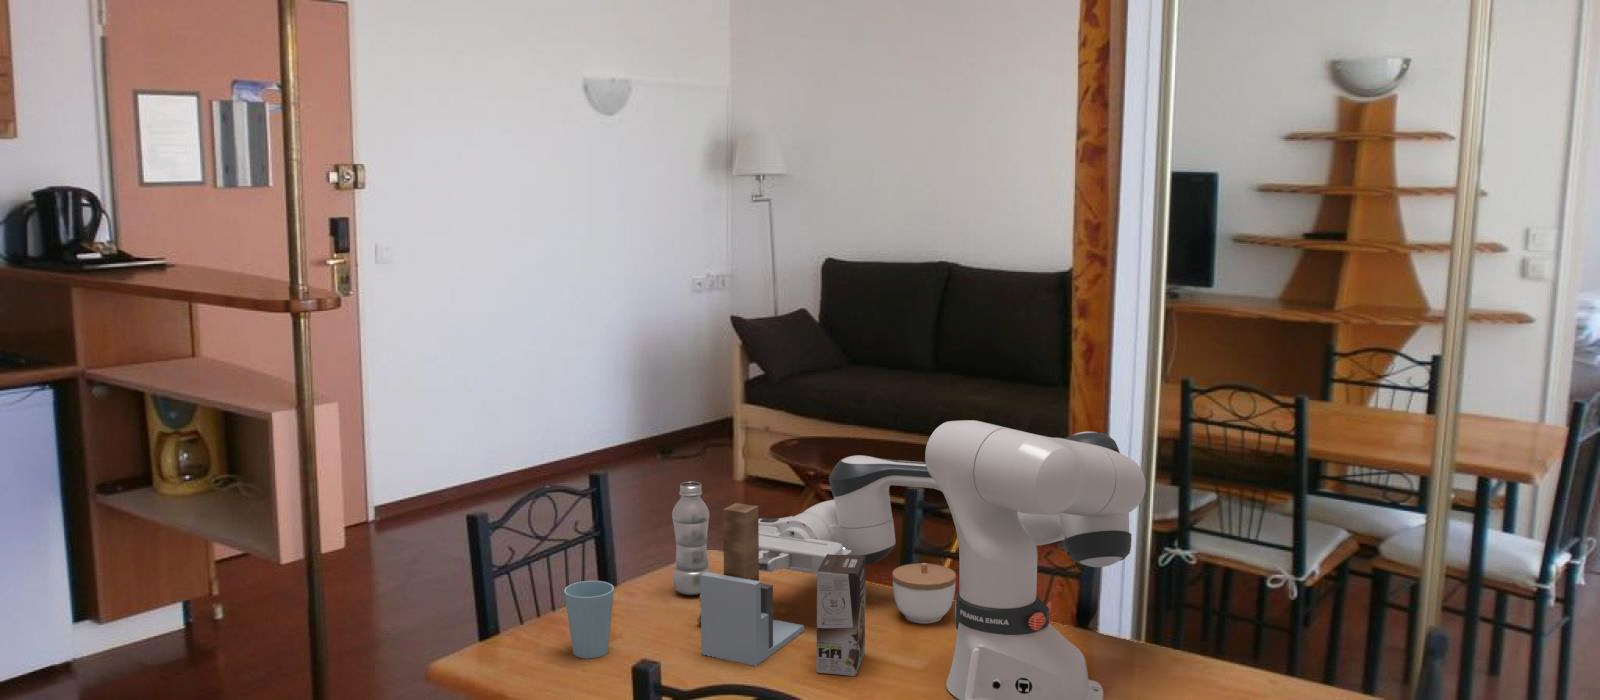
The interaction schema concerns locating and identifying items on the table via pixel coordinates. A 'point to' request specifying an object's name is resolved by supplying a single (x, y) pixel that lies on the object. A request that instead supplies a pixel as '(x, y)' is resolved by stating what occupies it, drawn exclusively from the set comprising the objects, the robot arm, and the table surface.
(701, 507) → the plastic bottle
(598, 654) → the cup
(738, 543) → the peg
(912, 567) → the lidded jar
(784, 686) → the table surface
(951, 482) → the robot arm
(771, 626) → the blue-grey stand
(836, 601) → the coffee box
